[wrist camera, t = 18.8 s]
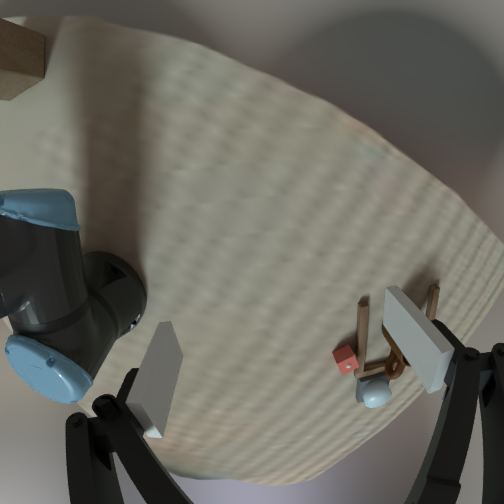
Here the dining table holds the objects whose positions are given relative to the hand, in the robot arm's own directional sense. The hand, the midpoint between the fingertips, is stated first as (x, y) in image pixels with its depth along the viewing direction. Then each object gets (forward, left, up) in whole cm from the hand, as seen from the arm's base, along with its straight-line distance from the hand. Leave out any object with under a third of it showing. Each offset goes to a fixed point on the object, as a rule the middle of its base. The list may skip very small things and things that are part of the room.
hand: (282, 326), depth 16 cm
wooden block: (-37, +37, -27) cm, 59 cm away
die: (+12, -28, -27) cm, 41 cm away
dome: (+19, -39, -25) cm, 50 cm away
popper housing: (+19, -39, -27) cm, 51 cm away
